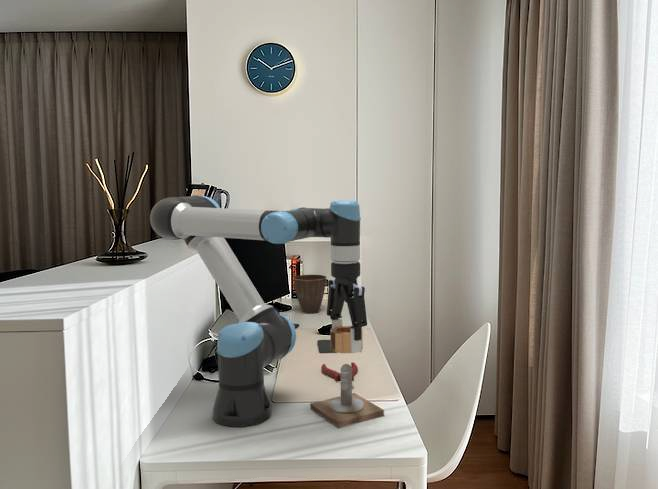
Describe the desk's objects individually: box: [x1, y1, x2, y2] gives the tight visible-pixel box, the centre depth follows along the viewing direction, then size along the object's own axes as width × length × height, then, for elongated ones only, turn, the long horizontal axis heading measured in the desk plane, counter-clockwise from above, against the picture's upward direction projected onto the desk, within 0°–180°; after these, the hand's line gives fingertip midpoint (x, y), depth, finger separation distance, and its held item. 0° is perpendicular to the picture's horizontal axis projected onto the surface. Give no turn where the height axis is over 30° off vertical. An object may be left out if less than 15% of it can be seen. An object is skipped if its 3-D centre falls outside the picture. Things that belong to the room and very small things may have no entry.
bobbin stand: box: [309, 363, 385, 429], centre depth 154 cm, size 14×14×13 cm
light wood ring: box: [330, 325, 364, 354], centre depth 152 cm, size 8×8×5 cm
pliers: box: [321, 362, 359, 389], centre depth 180 cm, size 12×20×3 cm, turn 8°
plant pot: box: [292, 274, 327, 314], centre depth 266 cm, size 15×15×16 cm
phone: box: [317, 339, 338, 354], centre depth 213 cm, size 7×1×15 cm
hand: (346, 347), depth 152 cm, fingers closed on light wood ring, 8 cm apart
